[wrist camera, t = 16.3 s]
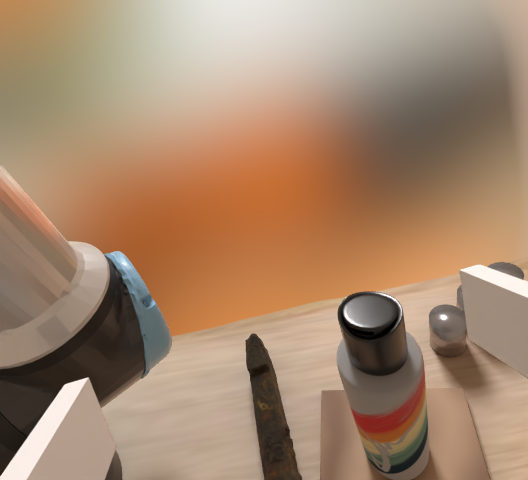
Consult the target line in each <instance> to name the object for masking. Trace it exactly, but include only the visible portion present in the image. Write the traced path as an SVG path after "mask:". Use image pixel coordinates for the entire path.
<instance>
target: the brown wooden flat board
mask: <svg viewBox="0 0 528 480" xmlns="http://www.w3.org/2000/svg"><path fill="white" fill-rule="evenodd" d="M426 402H427V417H428V432H429V459H428V463H427V465H426V467H425V469H424V470H423V472H422V473H421V474H420V475H418V476H417V477H415V478H413V479H411V480H490V478H489V474H488V471H487V467H486V464H485V461H484V457H483V454H482V451H481V447H480V444H479V441H478V437H477V434H476V431H475V427H474V424H473V420H472V417H471V414H470V410H469V407H468V404H467V400H466V397H465V394H464V390H463V388H441V389H426ZM320 480H393V479H390V478H387V477H385V476H384V475H382V474H381V473H379V472H378V471H377V470H376V469H375V468H374V467H373V466H372V464H371V463H370V461H369V459H368V457H367V455H366V453H365V450H364V448H363V445H362V442H361V439H360V435H359V432H358V429H357V426H356V423H355V420H354V417H353V414H352V411H351V408H350V405H349V402H348V399H347V396H346V393H345V390H332V391H322V401H321V462H320Z"/></svg>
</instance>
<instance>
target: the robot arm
mask: <svg viewBox="0 0 528 480" xmlns="http://www.w3.org/2000/svg"><path fill="white" fill-rule="evenodd" d="M460 278H461V286H462V294H463V302H464V310H465V318H466V326H467V334H468V339H469V340H471V341H472V342H474V343H475V344H477V345H478V346H480V347H481V348H483V349H484V350H486V351H487V352H489V353H490V354H492V355H493V356H495V357H496V358H498V359H499V360H501V361H502V362H504V363H505V364H507V365H508V366H510V367H511V368H513V369H514V370H516V371H517V372H519V373H520V374H522V375H523V376H525V377H526V378H528V281H525V280H522V279H519V278H516V277H513V276H511V275H508V274H505V273H502V272H499V271H497V270H494V269H491V268H488V267H485V266H482V265H480V264H479V265H475V266H472V267H468V268H465V269H461V270H460ZM171 345H172V338H171V335H170V331H169V329H168V326H167V324H166V322H165V320H164V318H163V316H162V314H161V312H160V310H159V309H158V306H157V305H156V303H155V301H154V300H153V299H152V298H151V295H150V293H149V291H148V289H147V287H146V285H145V284H144V282H143V280H142V279H141V277H140V276H139V274H138V273H137V271H136V269H135V268H134V267H133V265H132V264H131V262H130V261H129V260H128V258H127V257H126V256H125V255H124V254H123V253H121V252H119V251H116V252H112V253H107V254H105V255H103V254H102V252H101V251H99V250H98V249H97V248H96V247H94V246H92V245H90V244H87V243H82V242H67V241H66V239H65V238H64V237H63V236H62V235H61V234H60V233H59V231H58V230H57V229H56V228H55V227H54V226H53V224H52V223H51V222H50V221H49V220H48V219H47V217H46V216H45V215H44V214H43V213H42V212H41V210H40V209H39V208H38V207H37V206H36V205H35V203H34V202H33V201H32V200H31V199H30V198H29V197H28V195H27V194H26V193H25V192H24V191H23V189H22V188H21V187H20V186H19V185H18V184H17V183H16V181H15V180H14V179H13V178H12V177H11V175H10V174H9V173H8V172H7V171H6V170H5V168H4V167H3V166H2V165H1V164H0V480H122V468H121V462H120V459H119V456H118V454H117V452H116V450H115V449H116V445H115V443H114V440H113V438H112V435H111V433H110V430H109V428H108V425H107V423H106V420H105V417H104V415H103V412H102V410H101V408H102V407H103V406H105V405H106V404H107V403H109V402H110V401H111V400H113V399H114V398H115V397H117V396H118V395H119V394H121V393H122V392H123V391H125V390H126V389H127V388H129V387H130V386H131V385H133V384H134V383H135V382H137V381H138V380H139V379H141V378H144V377H145V376H146V375H147V374H148V373H149V371H150V369H152V368H153V367H154V366H155V365H156V364H158V363H159V362H160V361H161V360H162V359H163V358H165V357H166V356H167V354H168V353H169V351H170V349H171Z"/></svg>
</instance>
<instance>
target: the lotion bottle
mask: <svg viewBox="0 0 528 480" xmlns="http://www.w3.org/2000/svg"><path fill="white" fill-rule="evenodd" d="M338 321H339V325H340V328H341V332H342V336H343V339H342V340H341V342H340V344H339V347H338V350H337V366H338V370H339V374H340V377H341V380H342V383H343V386H344V389H345V393H346V396H347V399H348V402H349V405H350V408H351V411H352V414H353V417H354V420H355V423H356V426H357V429H358V432H359V435H360V439H361V442H362V445H363V448H364V450H365V453H366V455H367V457H368V459H369V461H370V463H371V464H372V466H373V467H374V468H375V469H376V470H377V471H378V472H379V473H381V474H382V475H384V476H385V477H387V478H390V479H393V480H411V479H413V478H415V477H417V476H418V475H420V474H421V473H422V472H423V470H424V469H425V467H426V465H427V463H428V459H429V432H428V417H427V402H426V386H425V372H424V361H423V355H422V352H421V349H420V347H419V345H418V343H417V342H416V340H415V339H414V338H413V337H412V336H411V335H410V334H409V333H408V332H407V331H406V330H405V323H404V315H403V310H402V306H401V305H400V303H399V302H398V301H397V300H396V299H395V298H393V297H392V296H390V295H387V294H384V293H380V292H359V293H355V294H352V295H350V296H348V297H346V298H345V299H344V300H343V301H342V302H341V303H340V305H339V308H338Z"/></svg>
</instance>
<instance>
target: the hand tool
mask: <svg viewBox="0 0 528 480" xmlns="http://www.w3.org/2000/svg"><path fill="white" fill-rule="evenodd" d="M246 364H247V369H248V371H249V373H250V381H251V386H252V393H253V402H254V409H255V418H256V425H257V432H258V439H259V446H260V454H261V460H262V466H263V473H264V479H265V480H302V477H301V475H300V474H299V473H298V470H297V463H296V459H295V452H294V449H293V442H292V439H290V434H289V433H290V430H289V427H288V425H287V422H286V418H285V414H284V410H283V406H282V402H281V397H280V393H279V389H278V384H277V380H276V379H277V378H276V374H275V371H274V368H273V365H272V362H271V359H270V357H269V354H268V351H267V349H266V348H265V347H264V345H263V342H262V340H261V339H260V338H258V336H257V335H256V334H255V333H254V334H251V335H250V337H249V339H247V340H246Z"/></svg>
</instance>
